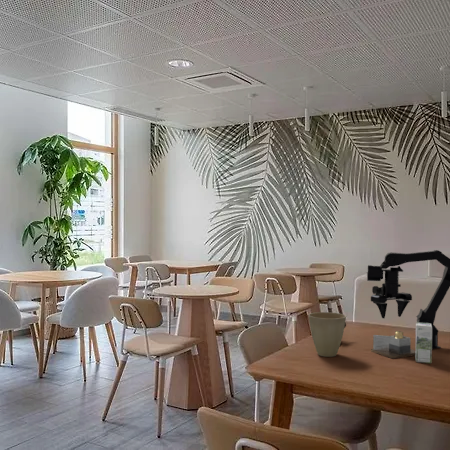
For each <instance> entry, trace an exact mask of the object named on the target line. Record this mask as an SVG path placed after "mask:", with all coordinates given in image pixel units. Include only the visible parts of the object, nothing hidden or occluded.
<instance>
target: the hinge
mask: <svg viewBox="0 0 450 450" xmlns="http://www.w3.org/2000/svg"><path fill="white" fill-rule="evenodd" d="M372 341H373V344H372V345H373V346H372V347H373V348H372V349H371V350H370V351H371V353H375V354H377V355H381V356H383V357H386V358H389V359H392V360H393V359H398V358H399V359H400V358H406V357H413V356H414V357H415V352H416V349H412V347H411V343H412V341H411V337H410V336H405V335H403V338H400V339H399V338H396V337H395V335H394V334H393V335H379V334H378V335H377V334H373V340H372Z"/></svg>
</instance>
